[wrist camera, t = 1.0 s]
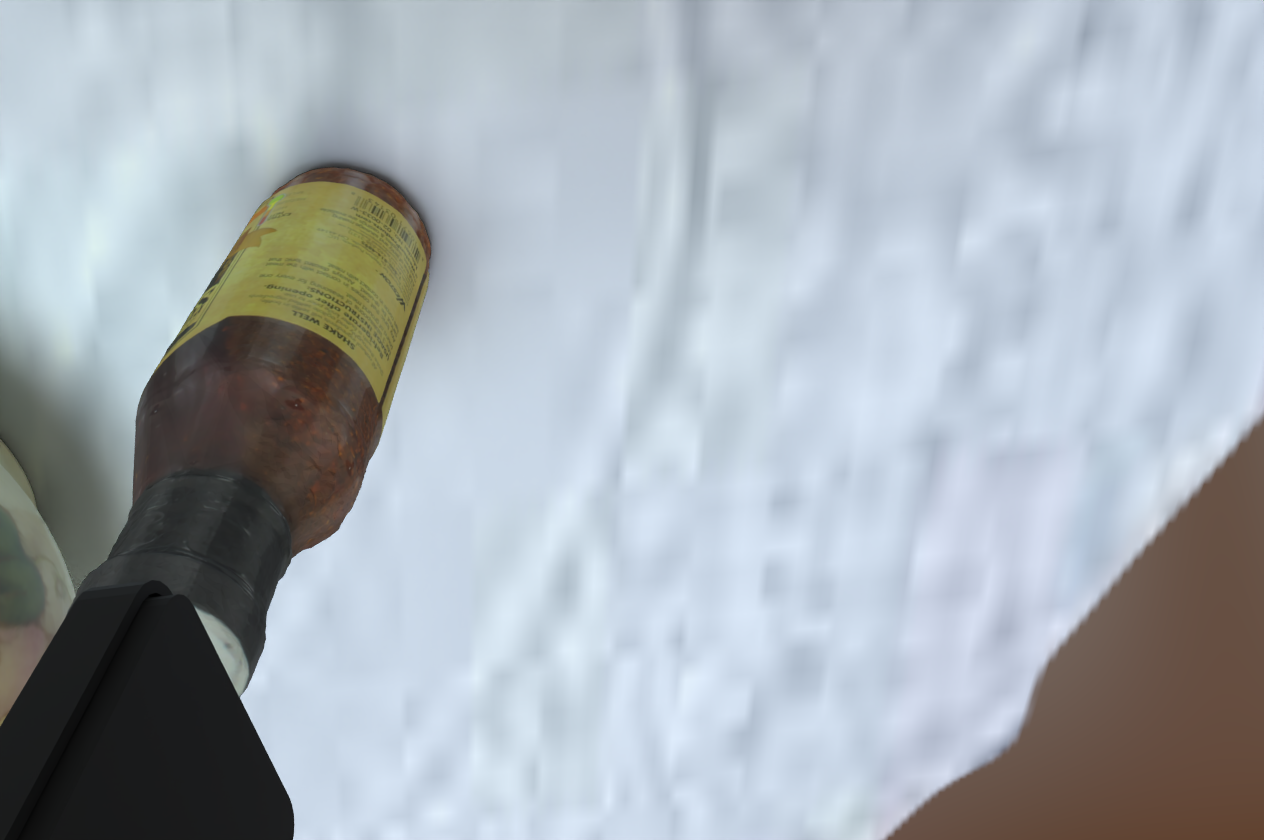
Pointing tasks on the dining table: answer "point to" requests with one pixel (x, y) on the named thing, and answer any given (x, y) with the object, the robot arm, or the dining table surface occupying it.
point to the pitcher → (26, 582)
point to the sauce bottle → (272, 402)
